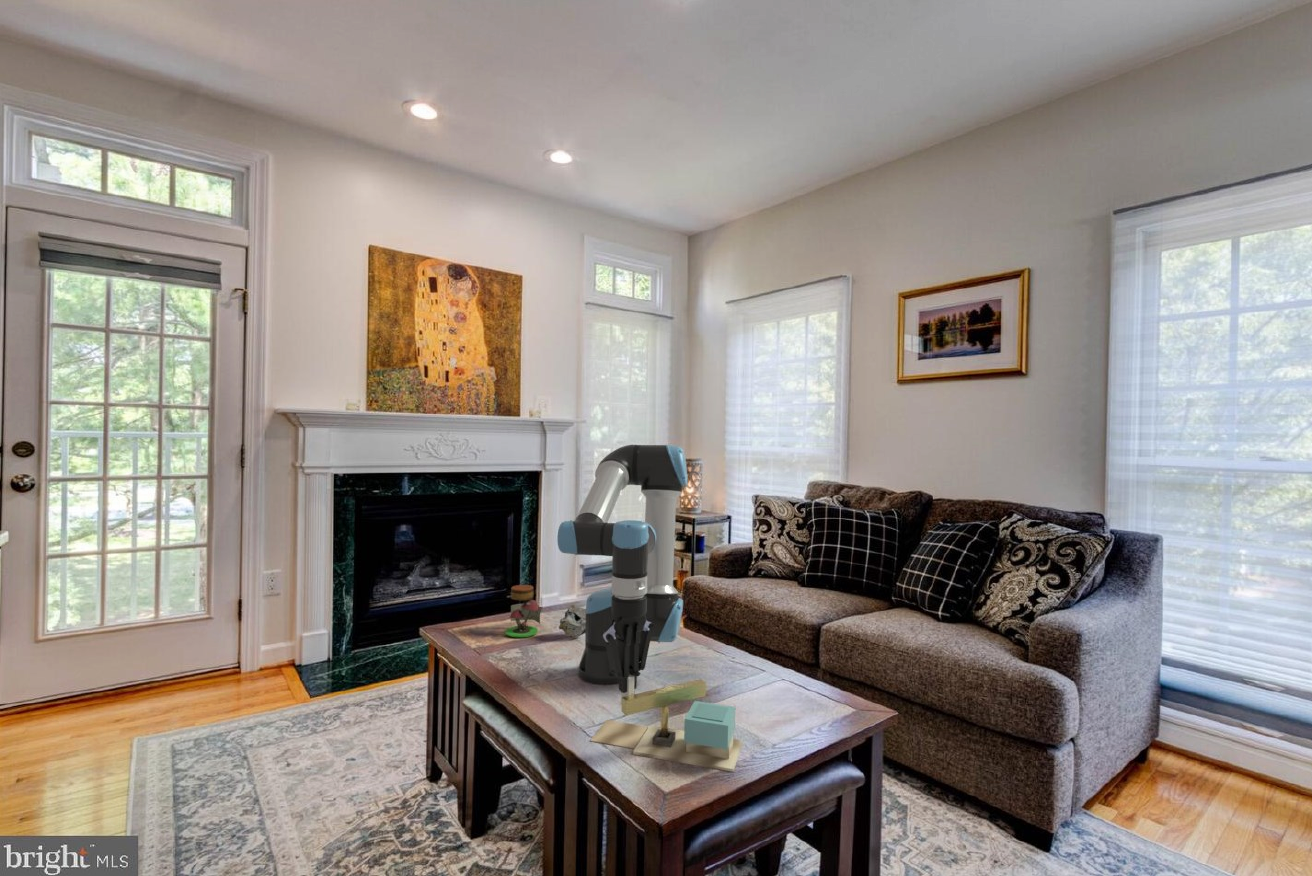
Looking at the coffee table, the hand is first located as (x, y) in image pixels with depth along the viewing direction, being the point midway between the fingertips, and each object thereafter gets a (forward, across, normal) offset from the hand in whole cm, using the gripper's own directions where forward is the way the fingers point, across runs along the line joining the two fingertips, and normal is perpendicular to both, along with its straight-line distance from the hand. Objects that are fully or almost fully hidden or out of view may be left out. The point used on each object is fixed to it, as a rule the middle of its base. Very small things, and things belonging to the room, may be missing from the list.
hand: (627, 705), depth 129 cm
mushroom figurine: (+10, +18, +81) cm, 83 cm away
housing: (+9, +10, -8) cm, 16 cm away
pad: (+9, +2, +6) cm, 11 cm away
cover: (+6, +13, -12) cm, 18 cm away
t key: (+9, +7, -4) cm, 12 cm away
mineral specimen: (+10, +28, +66) cm, 72 cm away
